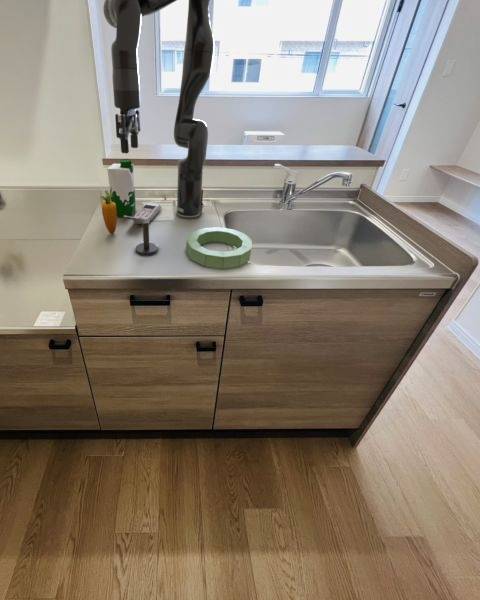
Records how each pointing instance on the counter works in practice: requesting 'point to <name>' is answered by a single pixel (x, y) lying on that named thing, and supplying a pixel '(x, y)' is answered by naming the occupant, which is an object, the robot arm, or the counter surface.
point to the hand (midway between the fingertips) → (130, 150)
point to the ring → (216, 257)
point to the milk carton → (122, 187)
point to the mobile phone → (145, 213)
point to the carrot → (109, 213)
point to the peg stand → (146, 243)
